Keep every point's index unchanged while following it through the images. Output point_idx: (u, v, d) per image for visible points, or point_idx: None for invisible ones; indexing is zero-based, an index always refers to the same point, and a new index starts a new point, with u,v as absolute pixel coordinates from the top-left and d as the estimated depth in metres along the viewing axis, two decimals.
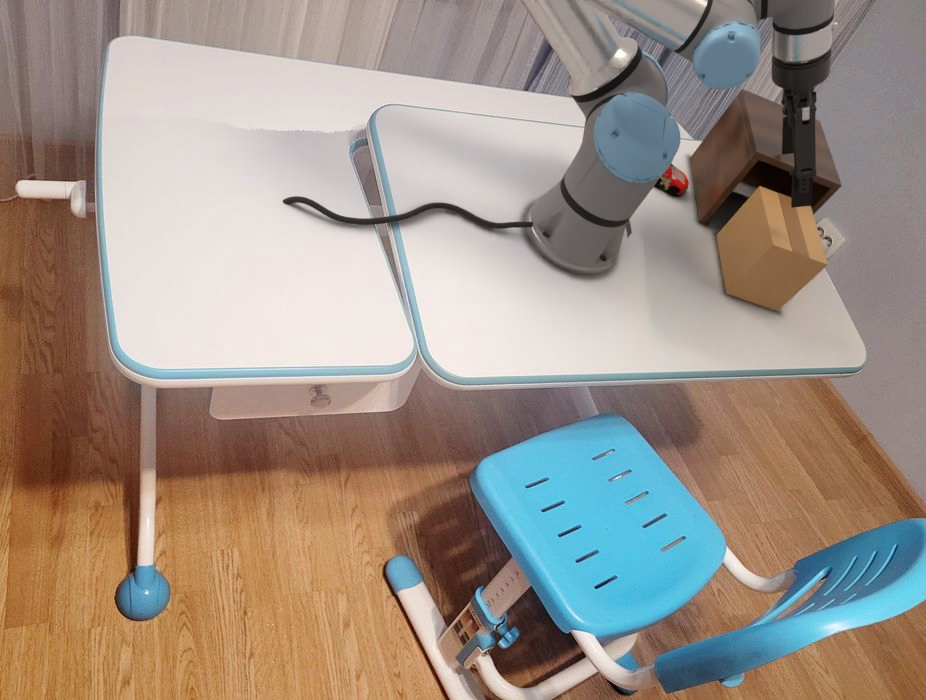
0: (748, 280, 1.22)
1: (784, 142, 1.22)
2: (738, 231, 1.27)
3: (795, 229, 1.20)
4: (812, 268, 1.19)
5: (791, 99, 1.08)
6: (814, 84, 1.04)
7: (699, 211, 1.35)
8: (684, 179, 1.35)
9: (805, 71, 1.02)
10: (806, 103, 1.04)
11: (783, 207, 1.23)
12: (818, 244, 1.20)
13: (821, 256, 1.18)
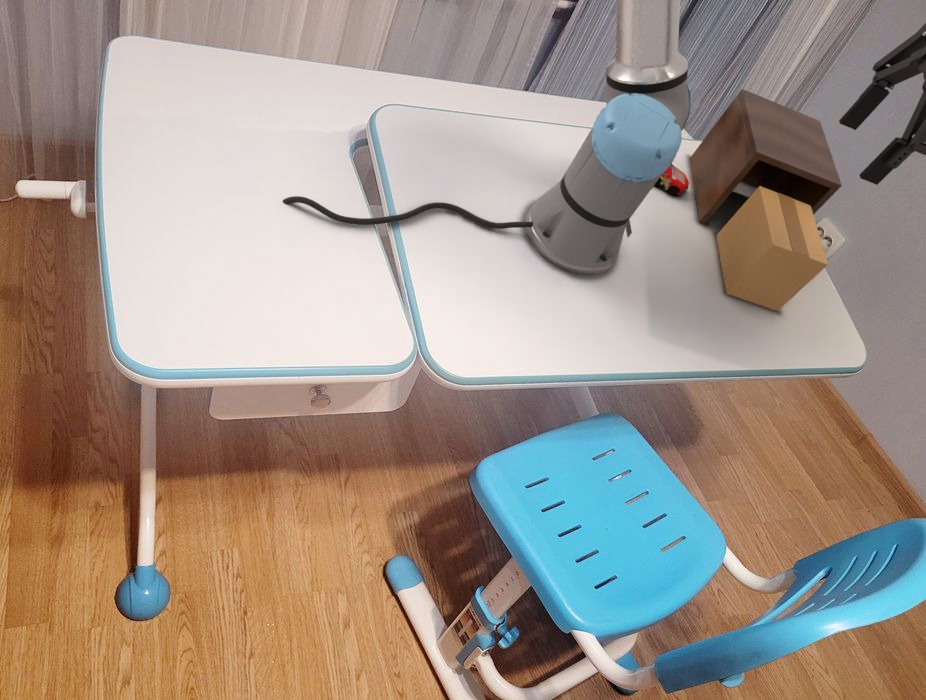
0: (748, 280, 1.22)
1: (853, 111, 1.08)
2: (738, 231, 1.27)
3: (795, 229, 1.20)
4: (812, 268, 1.19)
5: None
6: None
7: (699, 211, 1.35)
8: (684, 179, 1.35)
9: None
10: None
11: (783, 207, 1.23)
12: (818, 244, 1.20)
13: (821, 256, 1.18)
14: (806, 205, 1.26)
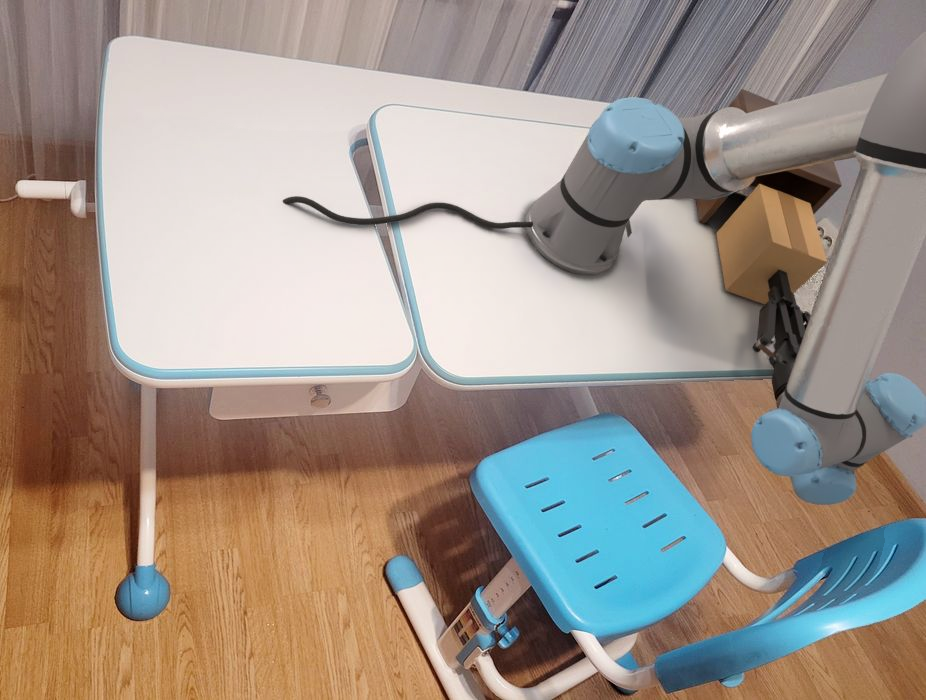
0: (748, 277, 1.22)
1: None
2: (737, 229, 1.27)
3: (795, 227, 1.20)
4: (812, 266, 1.19)
5: (790, 351, 1.09)
6: (772, 376, 1.09)
7: (699, 211, 1.35)
8: None
9: (779, 384, 1.06)
10: (765, 351, 1.10)
11: (783, 205, 1.23)
12: (817, 241, 1.20)
13: (821, 254, 1.19)
14: (806, 203, 1.26)
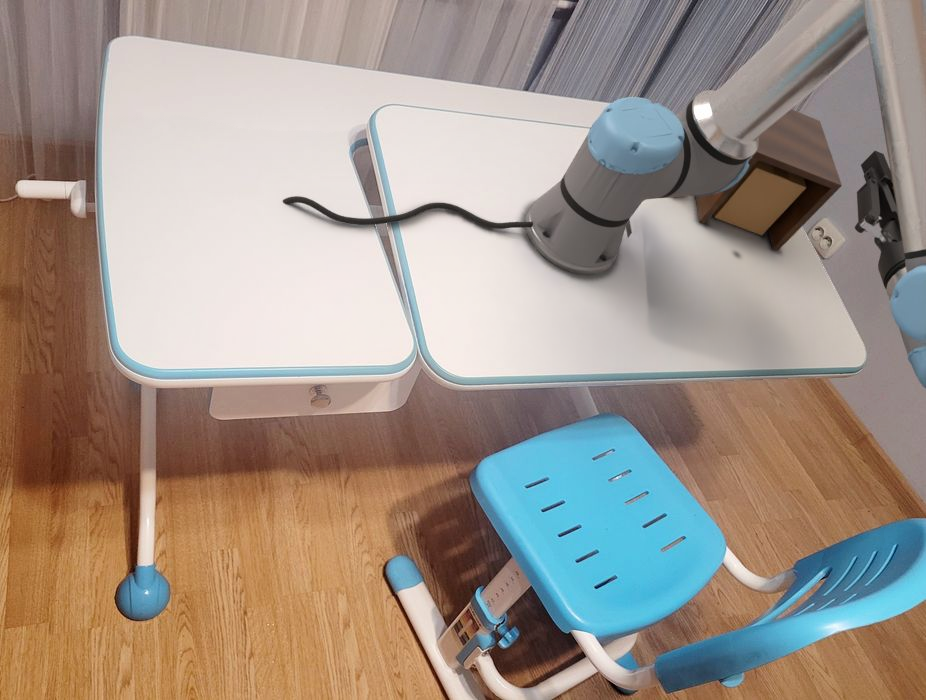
0: (734, 203, 1.34)
1: None
2: None
3: None
4: (792, 192, 1.30)
5: (900, 230, 0.95)
6: (880, 259, 0.95)
7: (699, 211, 1.35)
8: None
9: (890, 265, 0.92)
10: (870, 231, 0.96)
11: None
12: None
13: (801, 181, 1.30)
14: None
